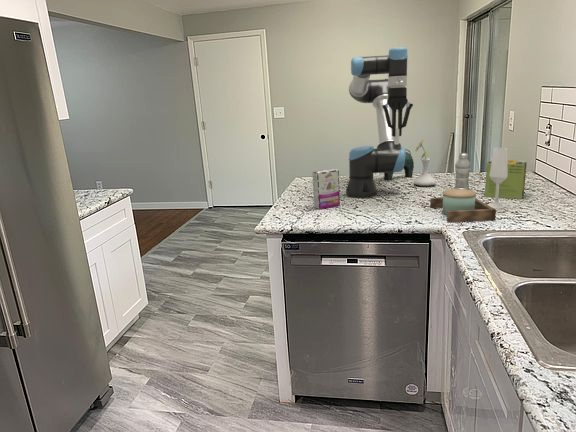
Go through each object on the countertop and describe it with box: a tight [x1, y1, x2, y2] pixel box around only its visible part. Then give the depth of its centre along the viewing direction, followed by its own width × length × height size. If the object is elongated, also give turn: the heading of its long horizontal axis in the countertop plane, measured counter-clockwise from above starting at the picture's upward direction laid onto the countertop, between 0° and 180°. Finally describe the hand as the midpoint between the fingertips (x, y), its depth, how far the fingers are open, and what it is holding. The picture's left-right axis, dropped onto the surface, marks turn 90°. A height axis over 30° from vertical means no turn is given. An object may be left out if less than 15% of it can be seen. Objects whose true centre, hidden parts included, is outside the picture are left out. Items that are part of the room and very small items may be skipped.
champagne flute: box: [487, 147, 508, 209], centre depth 180 cm, size 7×7×24 cm
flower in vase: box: [413, 137, 437, 187], centre depth 226 cm, size 13×11×25 cm
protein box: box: [484, 159, 528, 200], centre depth 198 cm, size 10×15×16 cm
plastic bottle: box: [453, 152, 471, 190], centre depth 199 cm, size 6×7×20 cm
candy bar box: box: [312, 168, 341, 210], centre depth 195 cm, size 11×5×16 cm, turn 118°
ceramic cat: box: [383, 148, 415, 182], centre depth 249 cm, size 20×6×20 cm, turn 114°
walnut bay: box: [429, 197, 497, 223], centre depth 175 cm, size 18×23×4 cm
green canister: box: [441, 188, 477, 217], centre depth 174 cm, size 12×12×9 cm
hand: (396, 144), depth 189 cm, fingers closed
